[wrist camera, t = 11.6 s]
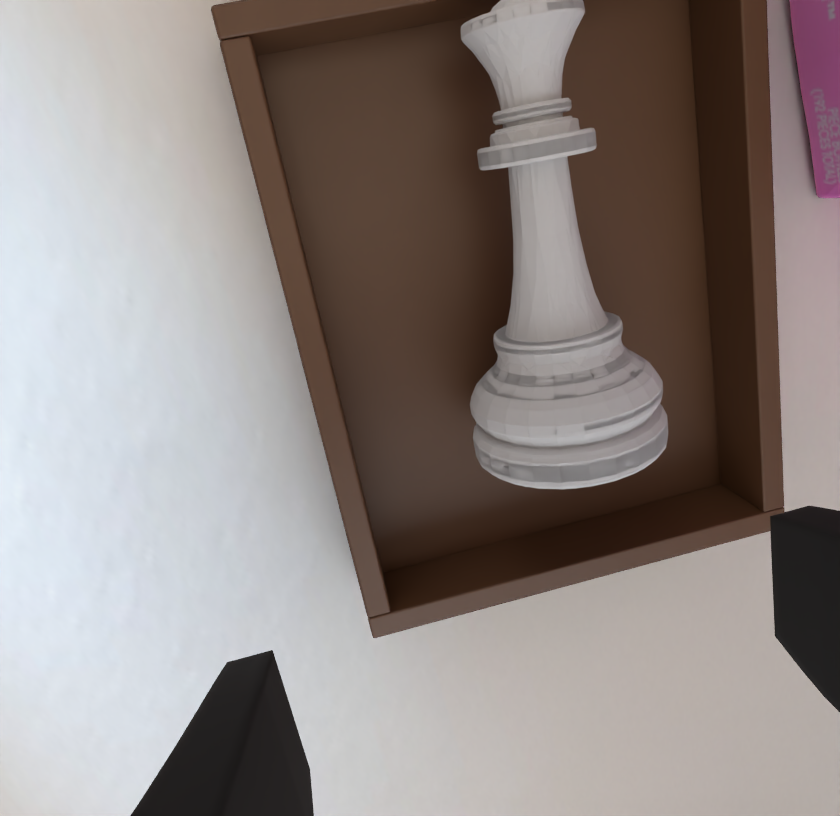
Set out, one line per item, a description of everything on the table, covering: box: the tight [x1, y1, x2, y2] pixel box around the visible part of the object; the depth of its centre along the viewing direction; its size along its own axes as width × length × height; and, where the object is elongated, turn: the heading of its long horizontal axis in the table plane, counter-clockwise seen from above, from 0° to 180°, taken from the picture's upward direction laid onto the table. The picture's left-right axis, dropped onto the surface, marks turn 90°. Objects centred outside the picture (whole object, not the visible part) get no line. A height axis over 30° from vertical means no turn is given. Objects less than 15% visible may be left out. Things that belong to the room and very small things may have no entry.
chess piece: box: [460, 0, 668, 489], centre depth 14 cm, size 4×4×10 cm
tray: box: [211, 0, 784, 638], centre depth 17 cm, size 14×11×2 cm
